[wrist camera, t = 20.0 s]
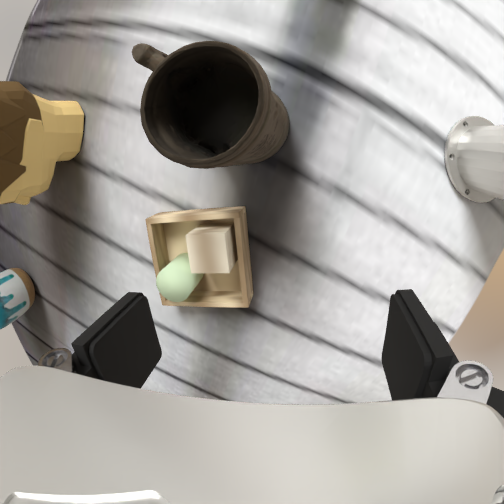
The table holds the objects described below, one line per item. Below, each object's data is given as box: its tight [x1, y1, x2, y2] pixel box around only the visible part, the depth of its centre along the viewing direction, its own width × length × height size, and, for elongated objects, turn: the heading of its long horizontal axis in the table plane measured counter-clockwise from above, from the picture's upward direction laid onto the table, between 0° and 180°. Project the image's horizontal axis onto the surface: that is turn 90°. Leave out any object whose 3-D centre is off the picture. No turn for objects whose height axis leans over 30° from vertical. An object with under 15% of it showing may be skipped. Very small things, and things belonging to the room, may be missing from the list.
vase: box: [0, 268, 35, 329], centre depth 45 cm, size 11×11×19 cm
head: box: [0, 81, 84, 205], centre depth 30 cm, size 14×21×25 cm, turn 169°
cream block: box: [185, 222, 238, 273], centre depth 39 cm, size 5×5×6 cm
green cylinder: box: [156, 253, 204, 302], centre depth 41 cm, size 5×5×6 cm
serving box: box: [146, 206, 254, 308], centre depth 41 cm, size 13×13×4 cm
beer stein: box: [132, 41, 289, 169], centre depth 28 cm, size 15×11×20 cm
